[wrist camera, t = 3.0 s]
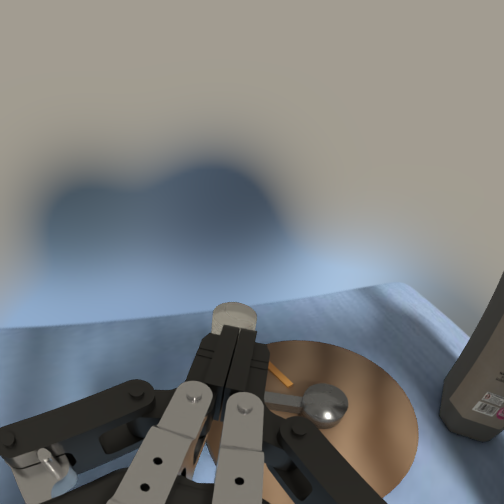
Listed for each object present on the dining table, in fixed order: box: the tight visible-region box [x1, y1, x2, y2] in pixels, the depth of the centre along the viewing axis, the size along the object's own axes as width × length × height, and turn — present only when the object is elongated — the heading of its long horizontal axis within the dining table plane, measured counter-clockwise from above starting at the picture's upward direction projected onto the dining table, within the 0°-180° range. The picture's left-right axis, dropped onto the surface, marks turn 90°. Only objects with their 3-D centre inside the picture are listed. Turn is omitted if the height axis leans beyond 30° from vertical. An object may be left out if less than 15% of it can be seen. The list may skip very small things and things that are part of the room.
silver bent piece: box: [211, 302, 348, 429], centre depth 23 cm, size 12×4×9 cm, turn 82°
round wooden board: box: [206, 340, 418, 504], centre depth 25 cm, size 20×20×2 cm
